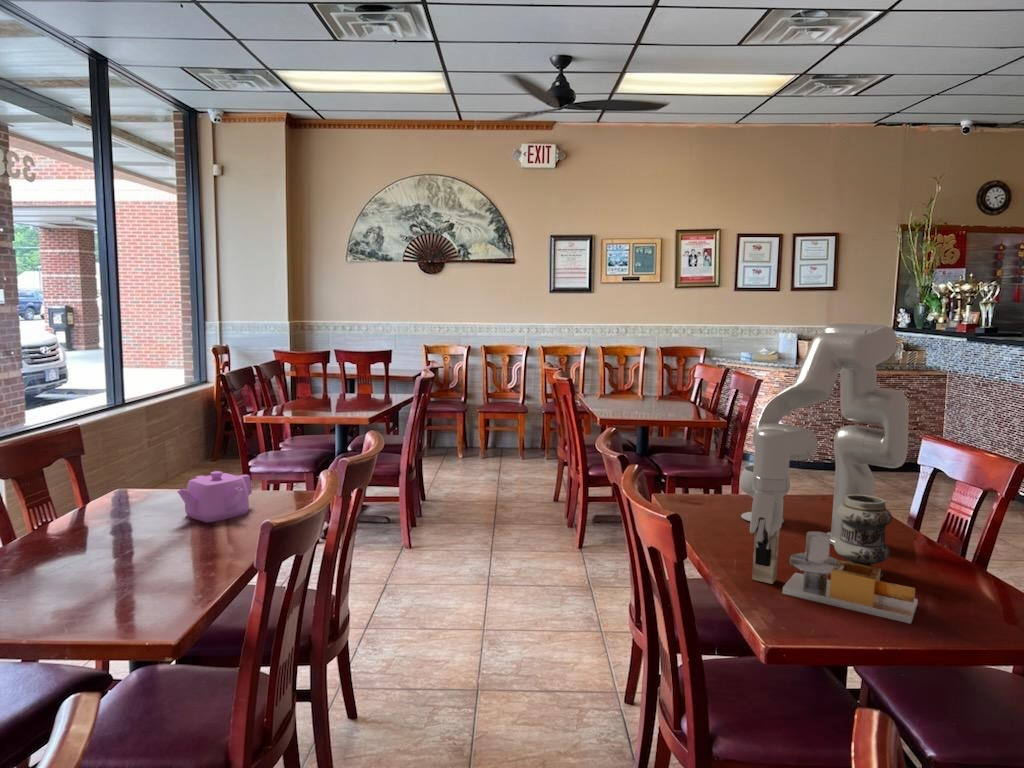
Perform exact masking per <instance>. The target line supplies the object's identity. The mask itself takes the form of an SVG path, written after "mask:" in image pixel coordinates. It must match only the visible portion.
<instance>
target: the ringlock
mask: <svg viewBox="0 0 1024 768" xmlns="http://www.w3.org/2000/svg"><path fill="white" fill-rule="evenodd" d="M826 533H827V532H823V531H816V530H815V531H807V532H806V538H805V539H806V540H805V541H806V542H805V552H797V553H794V554H791V555H790V557H789V564H790V565H791V566H792V567H793V568H795V569H797V570H800V571H802V572H803V573H799V572H794V573H793V575H791V576H790V578H789V579H788V580H787V582H785V584H784V585H783V586H782V592H781V594H783V595H786V596H789V597H790V596H791V597H794V598H800V599H803V600H807V601H812V602H815V603H820V604H826V605H829V606H834V607H837V608H841V609H846V610H851V611H854V612H859V613H863V614H867V615H871V616H874V617H875V616H876V617H880V618H883V619H889V620H893V621H898V622H902V623H906V624H909V625H910V624H912V622H913V619H914V616H915V613H916V610H917V607H918V598H915V596H916V588H915V587H911V586H906V585H902V584H897V583H891V582H887V581H882V580H881V578H880V571H882V570H881V568H880V567H876V566H874V567H871V566H866V565H861V564H856V563H851V561H847V560H840V559H837V558H835V557H834V556H833V557H832V556H830V549H831V544H830V535H829V534H826ZM828 576H830V579H828V578H829V577H828Z"/></svg>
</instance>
